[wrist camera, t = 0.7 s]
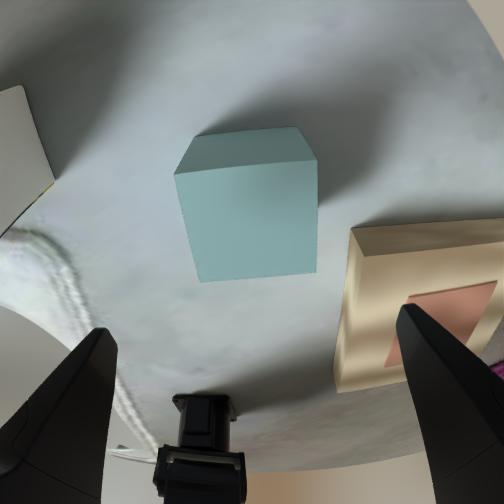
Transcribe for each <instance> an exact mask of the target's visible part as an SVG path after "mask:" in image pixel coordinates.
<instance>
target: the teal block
mask: <svg viewBox="0 0 504 504" xmlns="http://www.w3.org/2000/svg"><path fill="white" fill-rule="evenodd" d="M174 179H175V183H176V188H177V192H178V197H179V201H180V205H181V210H182V214H183V218H184V222H185V226H186V230H187V234H188V238H189V242H190V246H191V250H192V254H193V258H194V262H195V266H196V270H197V273H198V277H199V281H200V282H212V281H225V280H237V279H249V278H261V277H273V276H284V275H295V274H305V273H316V265H317V224H318V165H317V159H316V157H315V155H314V154H313V152H312V150H311V149H310V147H309V145H308V144H307V142H306V140H305V139H304V137H303V135H302V134H301V132H300V131H299V129H298V127H297V126H296V127H281V128H268V129H256V130H246V131H236V132H228V133H219V134H211V135H204V136H197V137H194V138H193V140H192V142H191V144H190V145H189V147H188V149H187V151H186V153H185V154H184V156H183V158H182V160H181V162H180V163H179V165H178V167H177V169H176V171H175V173H174Z"/></svg>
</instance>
